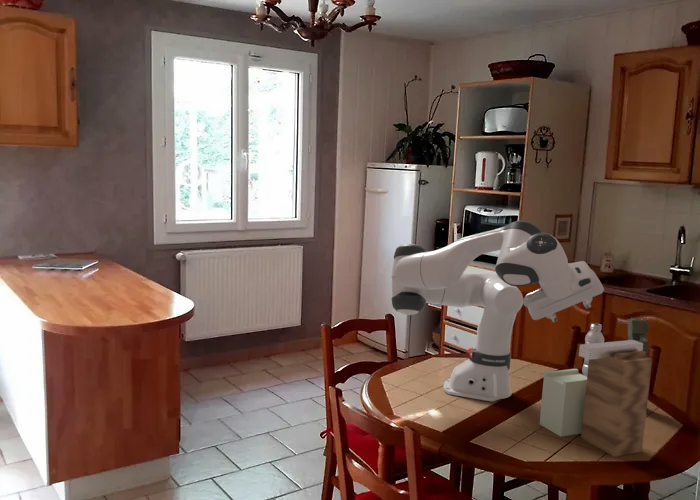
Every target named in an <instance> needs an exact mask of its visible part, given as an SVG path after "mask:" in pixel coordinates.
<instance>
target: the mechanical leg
mask: <svg viewBox="0 0 700 500" xmlns="http://www.w3.org/2000/svg"><path fill="white" fill-rule="evenodd" d="M626 331H627V336H628V337H627V338H628V339H627V340H635V341H638V342H641V343H643V350H642V351H644V352H646V354H645V356H646V357H648V358H649V340H648V339H649V338H648V333H649V323H648V322H647V320H642V318H639V317H638V318H637V317H629V318H628V319H627V330H626Z"/></svg>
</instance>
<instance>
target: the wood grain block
mask: <svg viewBox="0 0 700 500" xmlns="http://www.w3.org/2000/svg"><path fill="white" fill-rule="evenodd" d="M645 354H646V352H644V351H635V352H625V353H615V354H614V357H609V358H599V359H590V360H589V364H588V374H587V384H586V394H585V405H584V415H583V425H582V433H581V434H580V435H581V437H580V438H581V439H582V440H584V441H586V442H587V443H589V444H590V445H593V446H594V447H596V448H598V449H599V450H600V451H601V450H602V451H603V452H605V453H606V454H608V455H610V456H611V457H614V458H615V457H620V456H626V455H630V454H631V455H632V454H637V453H641V452H643V447H644V446H643V444H644V436H645V426H646V418H647V411H648V410H647V409H648V399H649V391H650V382H651V372H652V365H653V358H651V357H649V356H648V357H646V356H645Z"/></svg>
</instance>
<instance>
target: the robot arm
mask: <svg viewBox="0 0 700 500" xmlns="http://www.w3.org/2000/svg"><path fill="white" fill-rule="evenodd" d="M496 251H497V252H498V251H499V253H498V257H497V260H496V264H495V269H494V270H495V273H496V274H489V273H487V274H486V273H464V272H465V271H466V270H467V268H468V267H469V266H470V264H472V262H473V261H474V260H475V259H476V258H478V257H479V256H481V255H483V254H489V253H492V252H493V253H494V252H496ZM568 261H569V260H568V257H567V255H566V252H565V250H564V247H562V245H561V243H560V242H559V240H558V239H557V238H556V237H555V236H553V235H552V234H549V233H546V232H542V231H541V229H540V228H539V227H538V226H536V224H534V223H533V222H531V221H528V220H516V221H513V222H511V223H508V224H506V225H504V226H502V227H499V228H495V229H491V230H487V231H483V232H480V233H475V234H472V235H469V236H464V237H461V238H459V239H457V240H454V242H452V243H450V244H448V245H446V246H444V247H440V248H438V249H436V250H431V251H427V250H426V249H425V248H424V246H421V245H417V244H416V243H415V244H414V243H405V244H400V245H399V246H398V247H396V249H395V251H394V255H393V264H392V271H391V295H392V297H391V305H392V309H393V310H395V311H396V312H398V313H400V314H402V315H409V316H412V315H416V314H420V313H421V312H422V311H424V310H425V306H426V304H431V305H438V306H445V307H446V306H447V307H457V308H464V307H483V313H482V317H481V320H480V323H479V324H478V326H477V327H476V328H477V329H476V331H477V332H476V340H475V341H476V343H475V348H474V347H472V346H470V347H468V348H467V352H468V354H469V355H468V359H466V360H465V361H463V362H462V363H459V364H458V365H456V366H455V367H454V368H453V370H452V372H451V375H450V378H447V379H446V380H444V382H443V391H444V392H445V393H447V394H448V395H450V396H456V397H457V396H458V397H464V398H469V399H474V400H481V401H487V402H496V401H497V400H501V399H502V400H503V399H507V398H509V397H511V396H512V389H511V385H510V383H511V382H510V368H511V363H512V354H511V343H512V342H511V341H512V340H511V339H512V332H513V326H514V323H515V320H516V317H517V314H518V313H519V311H520V310H522V309H521V308H522V307H523V306H524V307H525V308H527V309H528V313H529V315H530V317H531V319H532V320H534V321H539V320H541V319H544V318H546V319H548V320H551V321H552V323H555V322H558V321H559V319H558V316H557V315H556V313H557V312H560V311H563V310H565V309H567V308H570V307H573V306H575V305H577V304H580V303H581V302H582V303H583V306H584V307H585V309H586V310H587V309H589V308H591V307H592V305H591V303H592V301H593V297H594V298H595V297H596V296H598V295H602V294H603V293H604V291H605V288H604V285H603V284H602V282H601V281H600V279H599V276H597V274H596V272H595V271H594V270H593V269H591V268H590V266H589V265H588V263H587V262H586V261H584V260H581V261H575V262H568ZM537 283H539V286H540V288H538V289H536V290H535V291H533V292H529V293H527V294H526V295H525V296H524V297H523V293H522V292H521V291H520V289H519V287H525V286H531V285H534V284H537Z"/></svg>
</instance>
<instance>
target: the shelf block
mask: <svg viewBox="0 0 700 500" xmlns="http://www.w3.org/2000/svg"><path fill="white" fill-rule="evenodd" d="M586 384H587V377H586V376H584V375H583V373H579V369H578V368H570V369H569V368H568V369H562V370H561V369H560V370H552V371H544V372H543V383H542V391H541V392H542V393H541V405H540V415H539V426H542V427H544V429H547V430H549V431H550V432H552V433H553V434H555V435H557V436H558V437H569V436H573V435H574V436H575V435H579V434H580V435H582V425H583V415H584V405H585V394H586Z"/></svg>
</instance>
